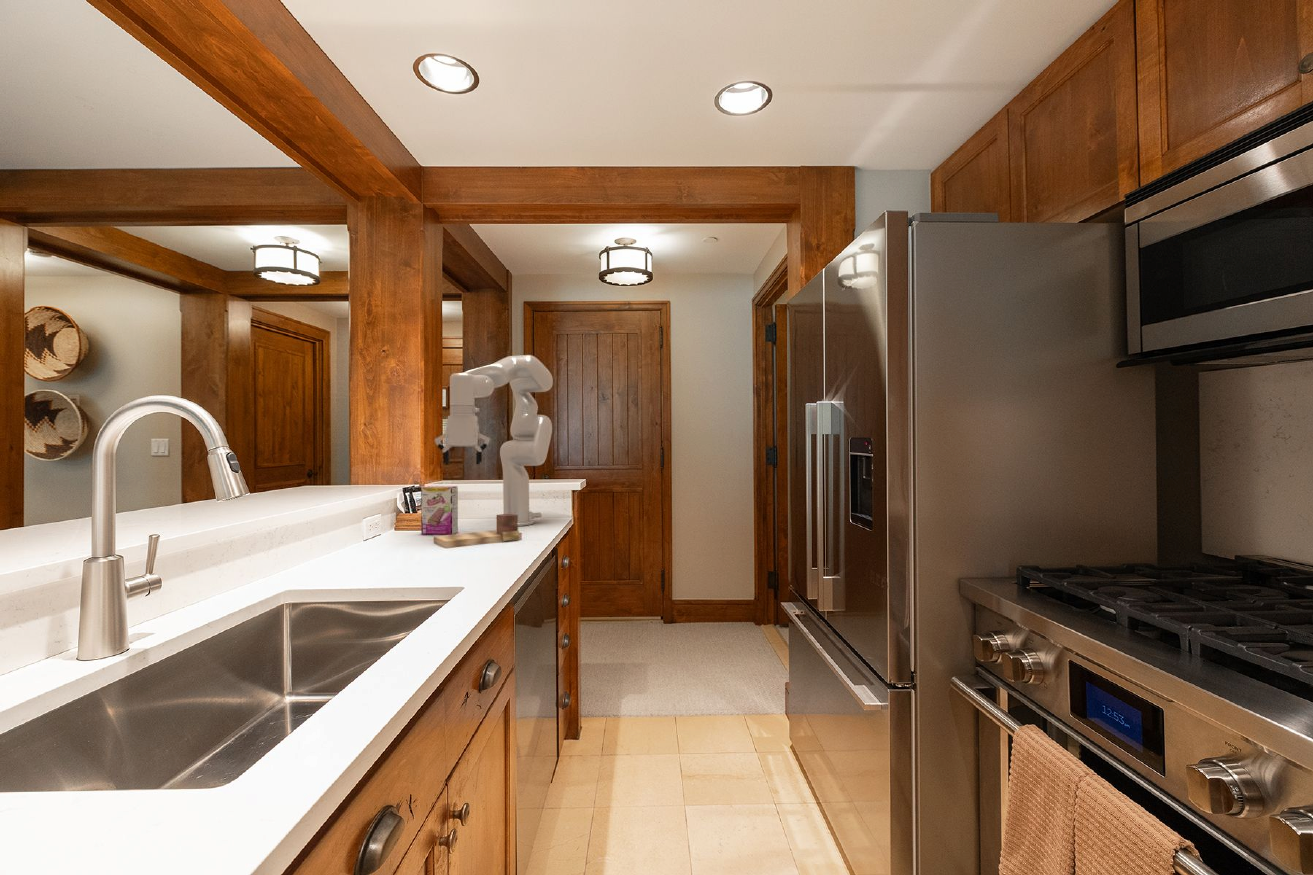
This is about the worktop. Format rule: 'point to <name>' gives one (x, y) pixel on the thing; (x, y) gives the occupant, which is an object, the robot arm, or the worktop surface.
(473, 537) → the pine board
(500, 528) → the brown block
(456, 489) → the candy bar box
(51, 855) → the worktop surface
